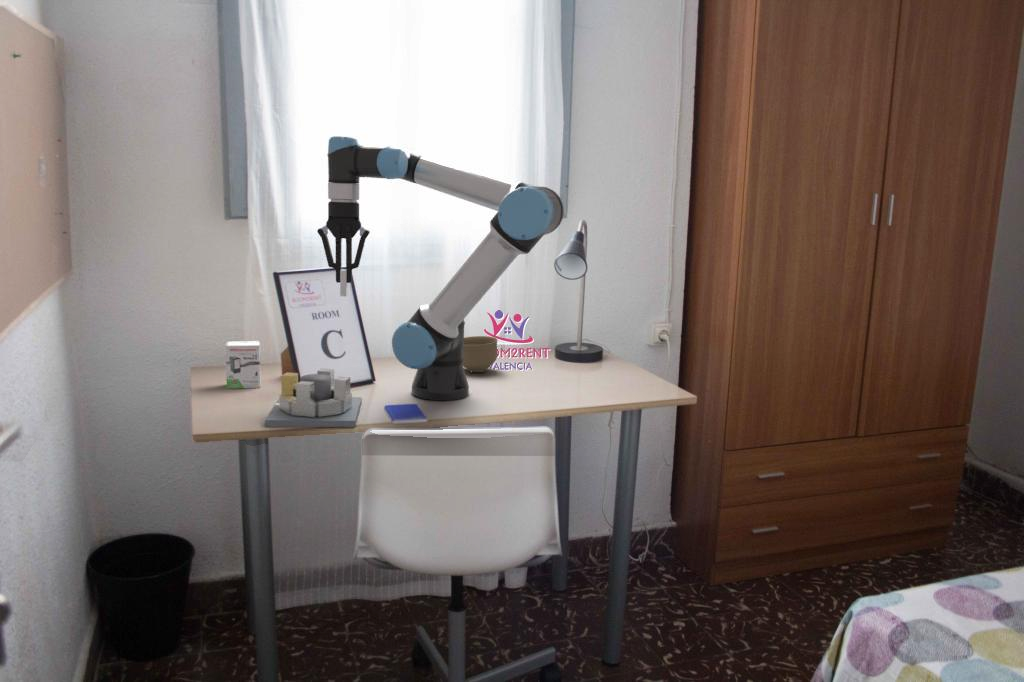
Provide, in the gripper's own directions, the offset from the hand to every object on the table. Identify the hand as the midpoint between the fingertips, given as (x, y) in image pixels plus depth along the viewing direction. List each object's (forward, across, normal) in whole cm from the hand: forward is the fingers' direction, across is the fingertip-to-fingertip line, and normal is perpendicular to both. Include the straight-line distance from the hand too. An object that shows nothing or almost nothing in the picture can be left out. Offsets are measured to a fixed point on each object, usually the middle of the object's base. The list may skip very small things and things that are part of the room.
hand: (343, 295), depth 207 cm
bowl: (+27, -36, -29) cm, 53 cm away
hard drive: (+27, -16, +16) cm, 36 cm away
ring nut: (+25, +5, +16) cm, 30 cm away
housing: (+26, +5, +16) cm, 31 cm away
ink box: (+27, +27, -9) cm, 39 cm away
